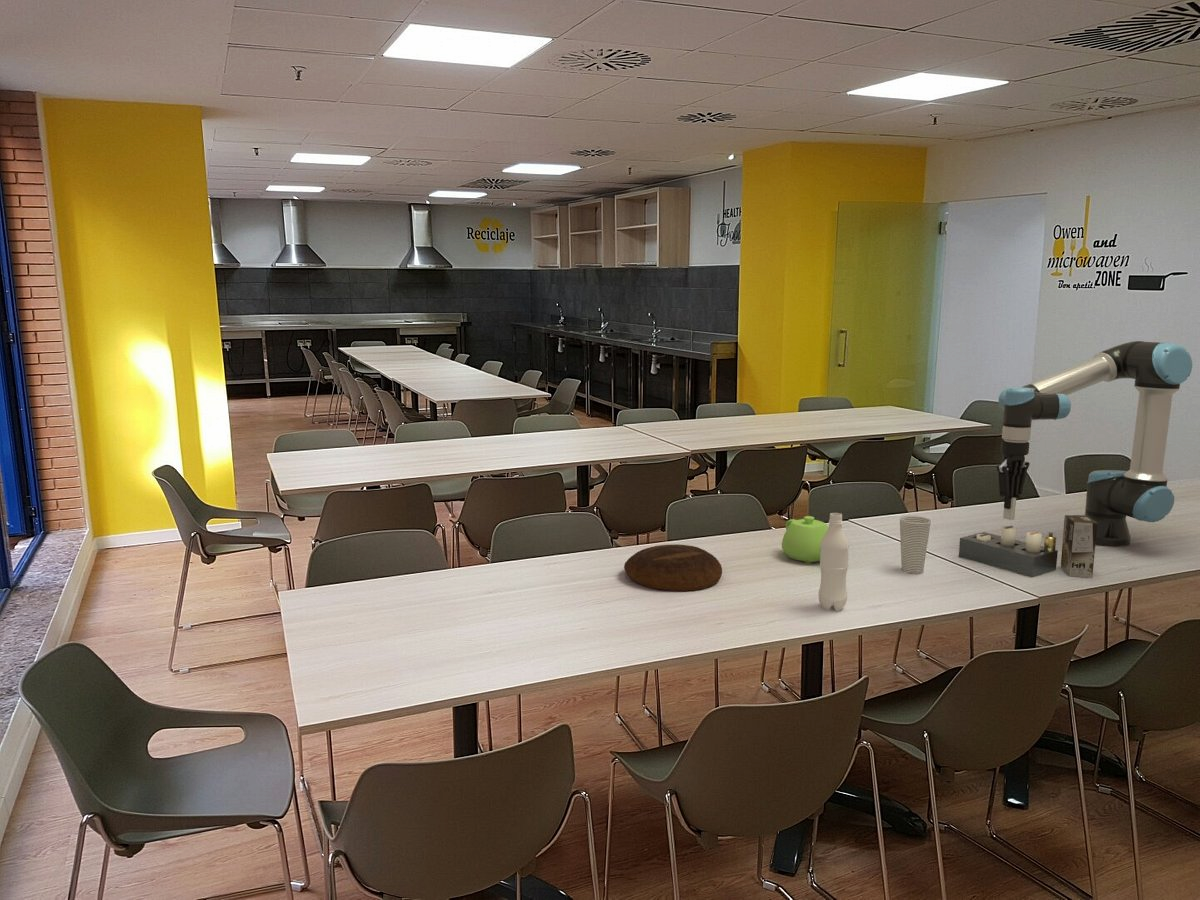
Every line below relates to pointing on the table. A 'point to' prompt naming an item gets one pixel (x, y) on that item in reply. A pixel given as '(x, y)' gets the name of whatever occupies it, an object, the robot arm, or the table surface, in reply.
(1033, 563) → the mount
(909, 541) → the cup
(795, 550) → the teapot
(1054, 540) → the pepper mill
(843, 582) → the water bottle
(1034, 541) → the knob
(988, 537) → the knob
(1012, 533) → the knob
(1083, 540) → the coffee box
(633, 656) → the table surface
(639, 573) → the bread
